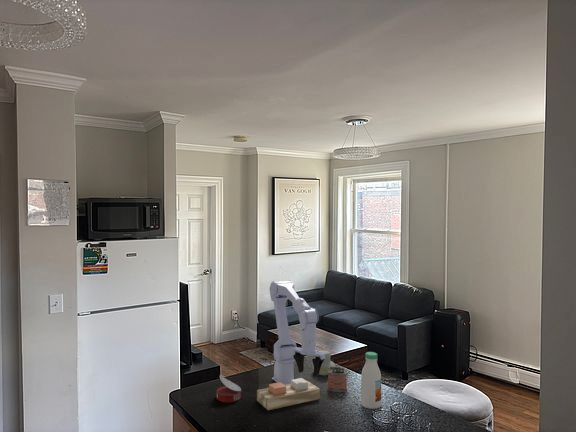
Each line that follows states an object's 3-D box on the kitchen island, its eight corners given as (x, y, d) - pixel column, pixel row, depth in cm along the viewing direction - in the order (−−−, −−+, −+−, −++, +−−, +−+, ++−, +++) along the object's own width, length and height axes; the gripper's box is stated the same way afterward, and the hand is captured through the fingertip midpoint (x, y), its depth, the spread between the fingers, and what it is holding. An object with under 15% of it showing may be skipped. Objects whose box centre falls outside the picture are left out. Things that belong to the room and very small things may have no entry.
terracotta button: (268, 391, 166) (268, 384, 166) (280, 389, 169) (280, 382, 169) (274, 396, 162) (274, 388, 162) (286, 394, 164) (286, 386, 164)
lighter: (346, 389, 179) (347, 365, 179) (347, 392, 176) (347, 368, 176) (327, 388, 180) (327, 364, 180) (327, 391, 177) (327, 367, 177)
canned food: (224, 404, 174) (229, 378, 178) (244, 406, 169) (249, 380, 174) (207, 399, 165) (213, 373, 170) (228, 402, 160) (233, 374, 165)
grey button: (290, 387, 171) (291, 379, 171) (301, 385, 174) (301, 377, 174) (297, 391, 167) (297, 384, 167) (307, 389, 169) (308, 382, 169)
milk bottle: (369, 411, 158) (369, 357, 159) (356, 403, 165) (357, 351, 166) (385, 407, 162) (385, 354, 162) (372, 399, 169) (372, 349, 169)
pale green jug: (336, 371, 200) (336, 350, 200) (334, 377, 192) (334, 355, 192) (313, 369, 203) (314, 348, 203) (310, 375, 195) (311, 353, 195)
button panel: (256, 400, 166) (256, 390, 166) (306, 389, 178) (306, 380, 178) (267, 410, 158) (268, 399, 158) (319, 398, 169) (319, 388, 169)
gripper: (288, 338, 171) (288, 372, 171) (317, 344, 162) (317, 380, 162) (298, 335, 177) (298, 368, 176) (328, 341, 168) (328, 375, 167)
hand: (308, 373), depth 169 cm, fingers open, 7 cm apart
